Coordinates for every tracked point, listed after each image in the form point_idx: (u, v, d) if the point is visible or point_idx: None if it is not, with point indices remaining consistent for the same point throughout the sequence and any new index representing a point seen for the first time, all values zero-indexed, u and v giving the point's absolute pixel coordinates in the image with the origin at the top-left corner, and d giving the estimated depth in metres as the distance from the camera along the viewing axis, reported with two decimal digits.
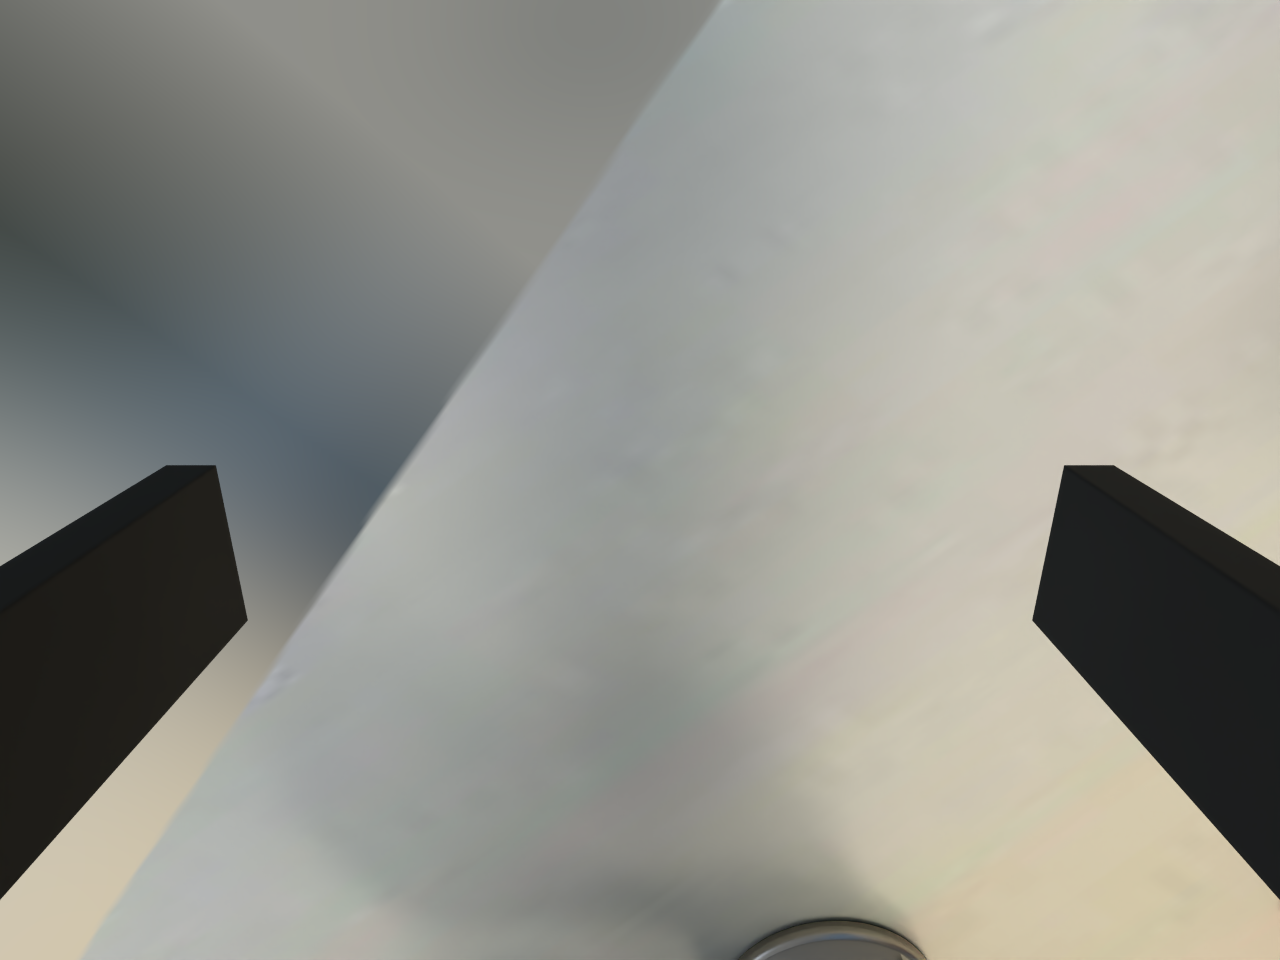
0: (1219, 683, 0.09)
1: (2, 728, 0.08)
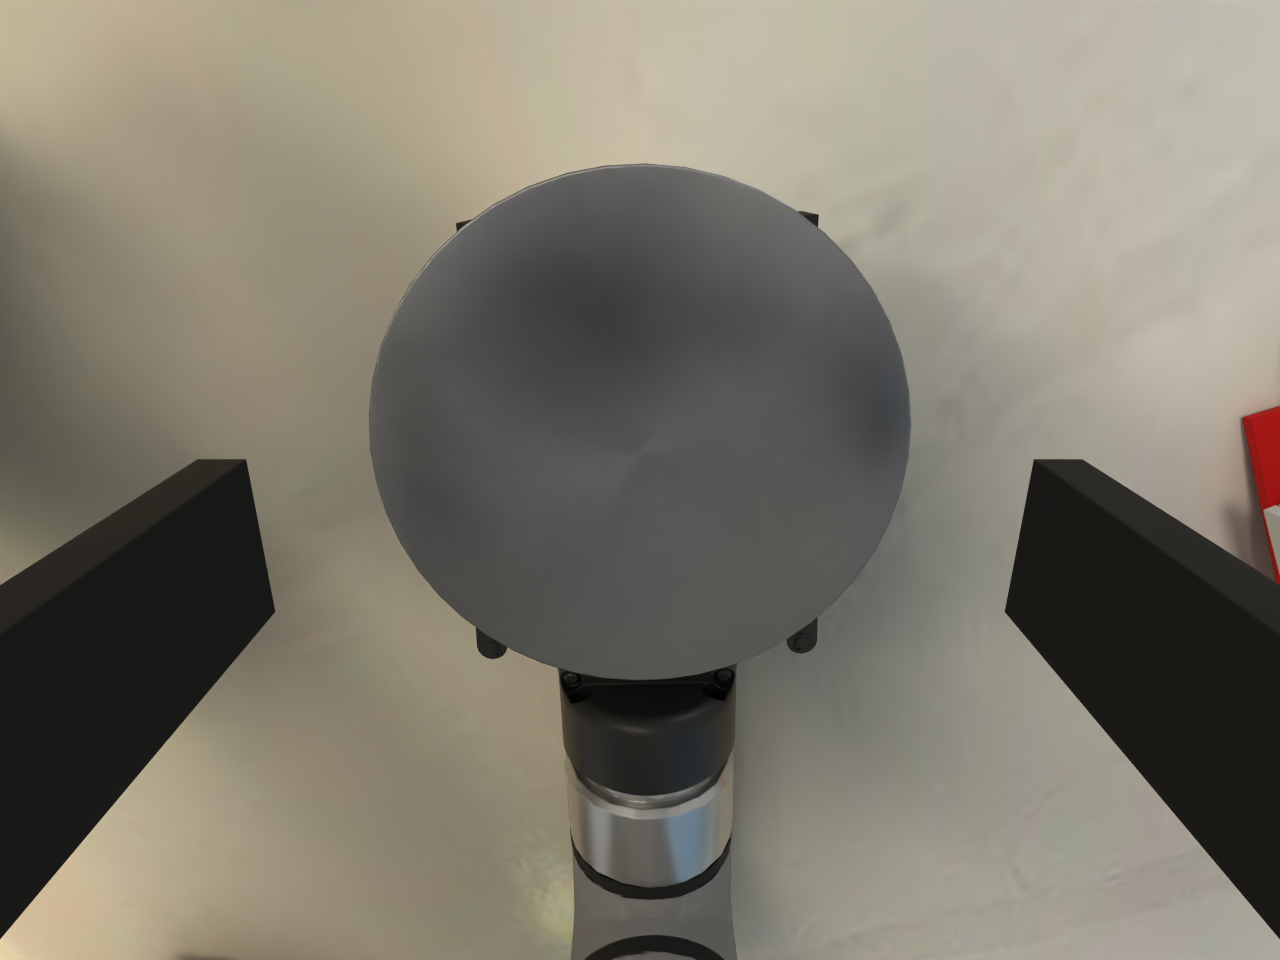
0: (1173, 668, 0.09)
1: (54, 711, 0.08)
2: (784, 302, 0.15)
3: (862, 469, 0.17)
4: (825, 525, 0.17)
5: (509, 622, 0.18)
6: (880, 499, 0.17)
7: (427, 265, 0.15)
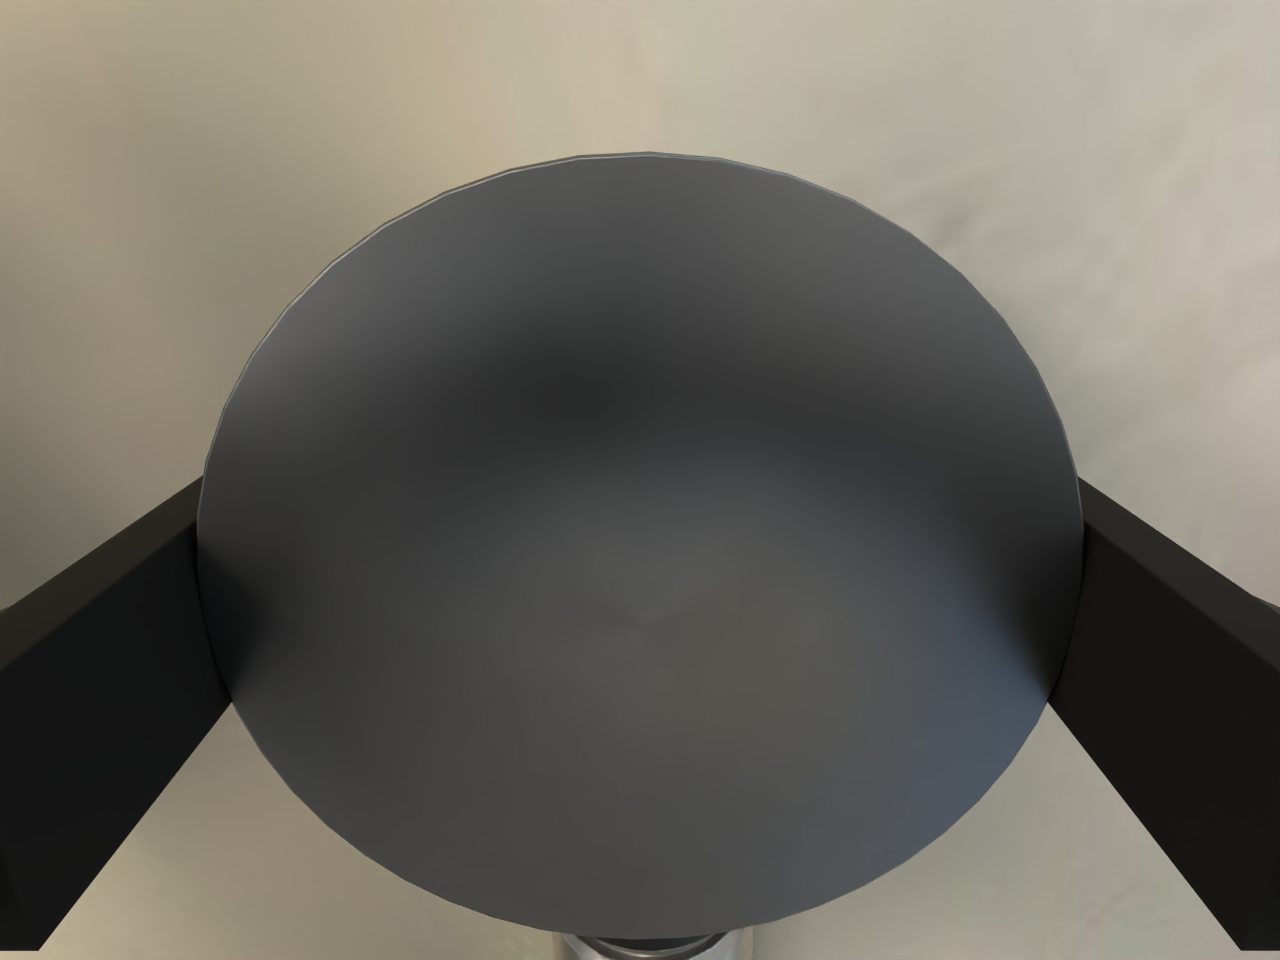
0: (1116, 651, 0.09)
1: (117, 691, 0.08)
2: (886, 389, 0.09)
3: (999, 647, 0.10)
4: (934, 729, 0.11)
5: (438, 863, 0.12)
6: (1024, 691, 0.11)
7: (274, 328, 0.09)
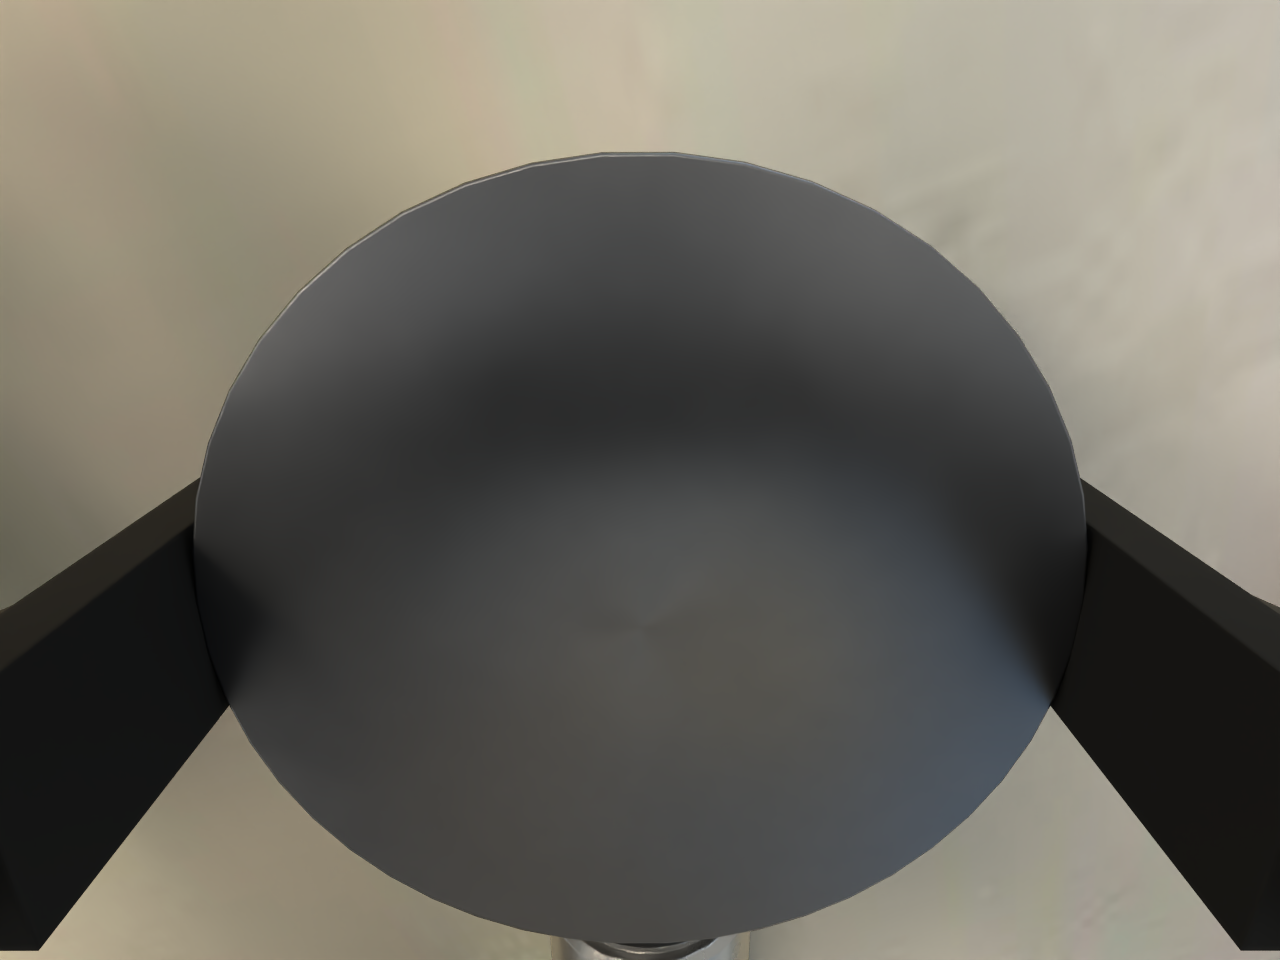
0: (1116, 651, 0.09)
1: (117, 691, 0.08)
2: (309, 552, 0.10)
3: (468, 282, 0.09)
4: (602, 282, 0.09)
5: (1017, 678, 0.10)
6: (500, 213, 0.08)
7: None
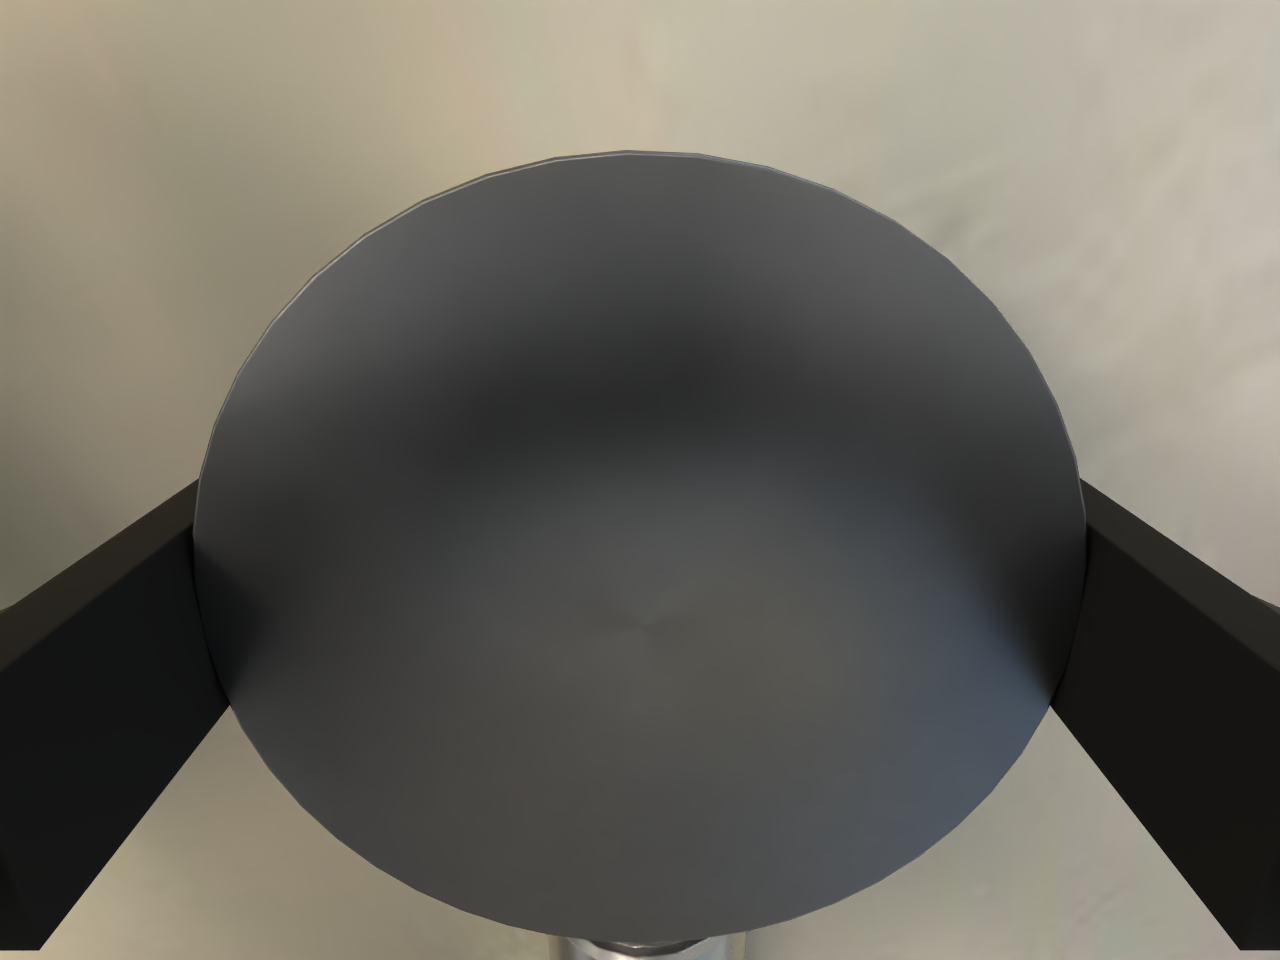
0: (1116, 651, 0.09)
1: (117, 691, 0.08)
2: (702, 868, 0.12)
3: (434, 844, 0.11)
4: (377, 774, 0.11)
5: (488, 239, 0.08)
6: (377, 844, 0.11)
7: (1083, 547, 0.10)
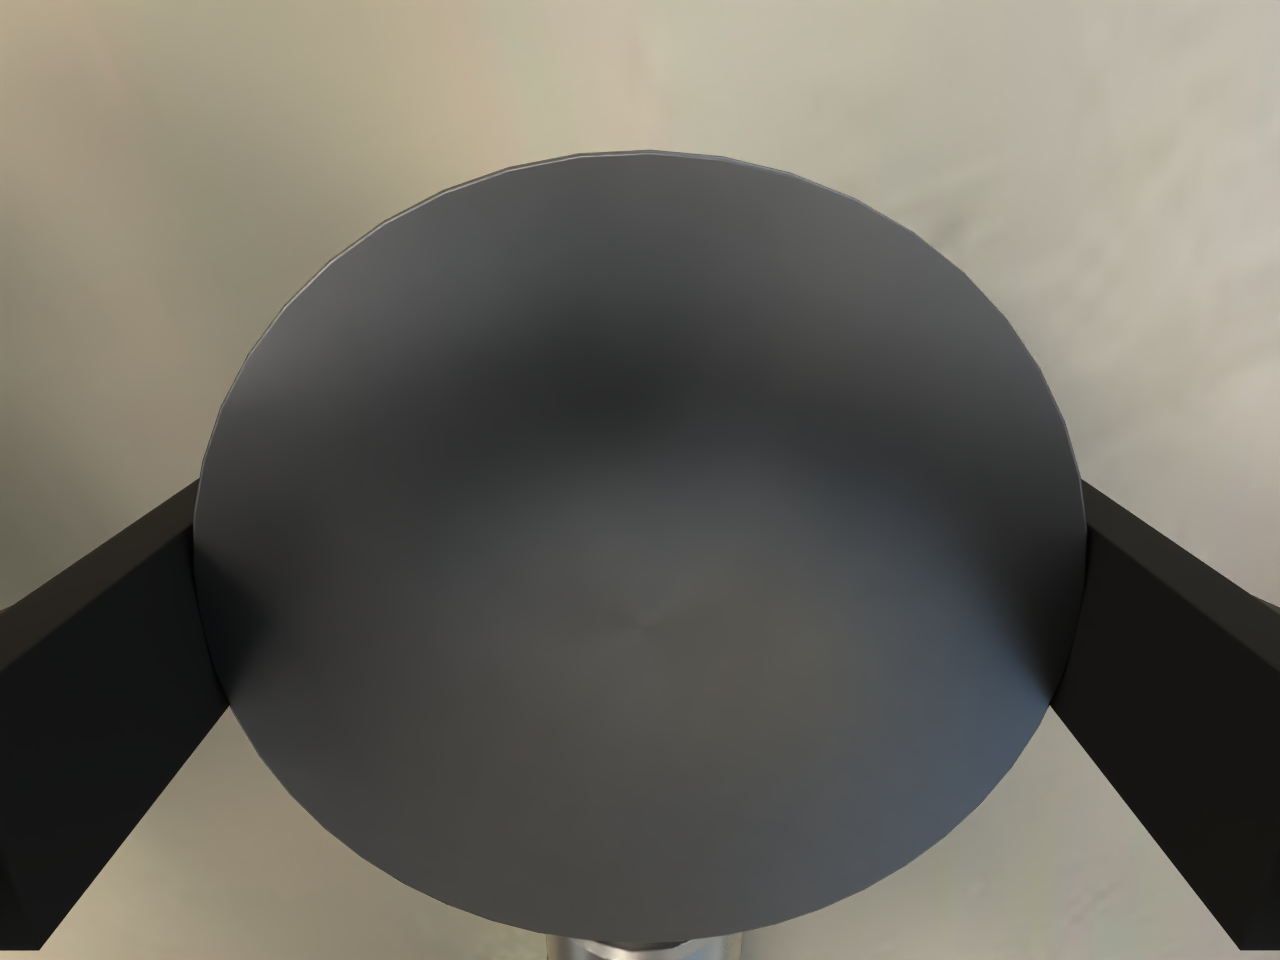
0: (1115, 651, 0.09)
1: (117, 691, 0.08)
2: (918, 423, 0.09)
3: (987, 689, 0.10)
4: (913, 761, 0.11)
5: (399, 844, 0.11)
6: (1005, 734, 0.11)
7: (313, 281, 0.09)
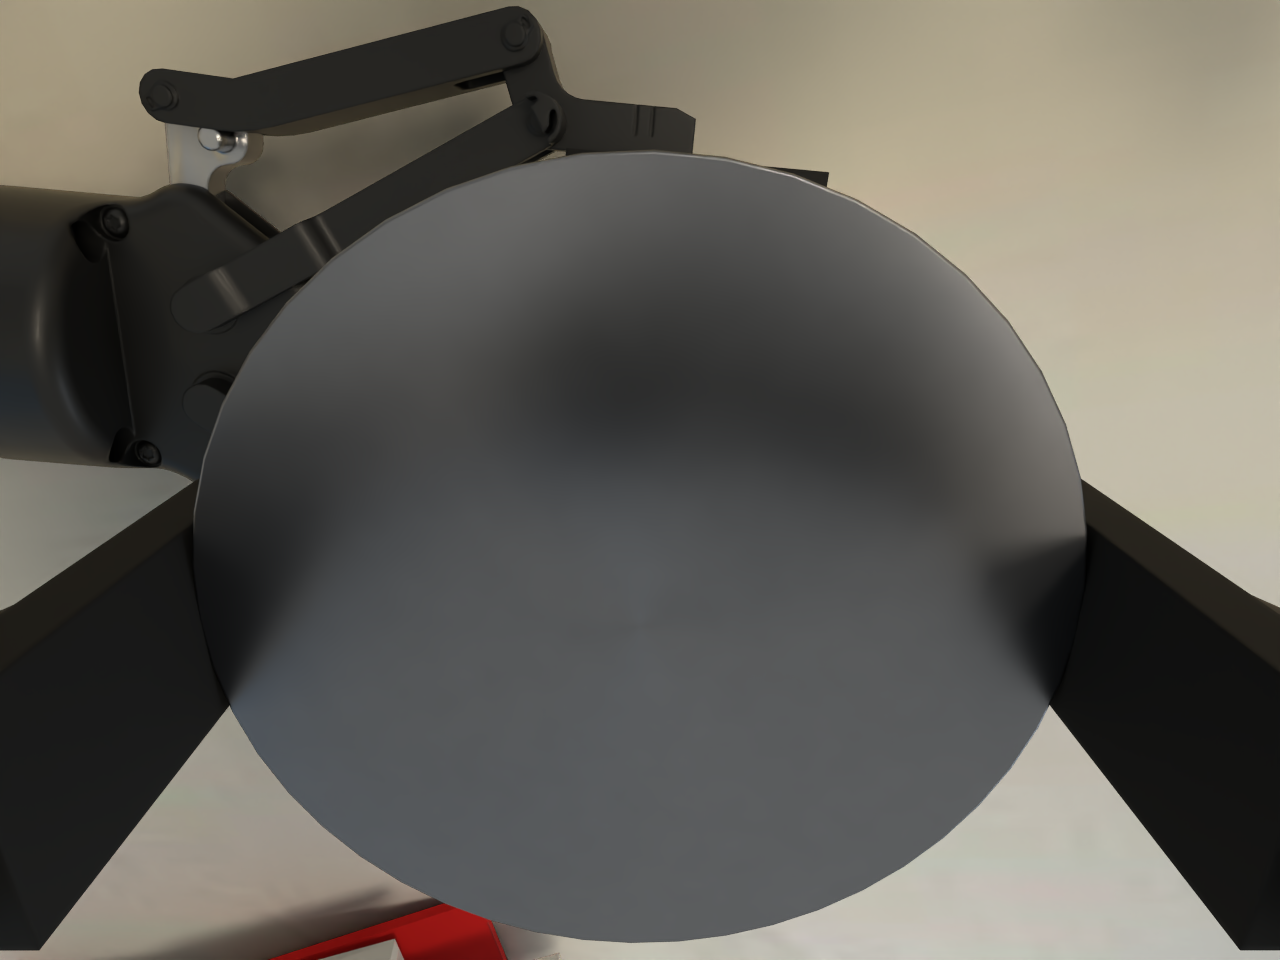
0: (1117, 651, 0.09)
1: (118, 691, 0.08)
2: (919, 425, 0.09)
3: (986, 691, 0.10)
4: (912, 763, 0.11)
5: (397, 842, 0.11)
6: (1004, 736, 0.11)
7: (316, 278, 0.09)
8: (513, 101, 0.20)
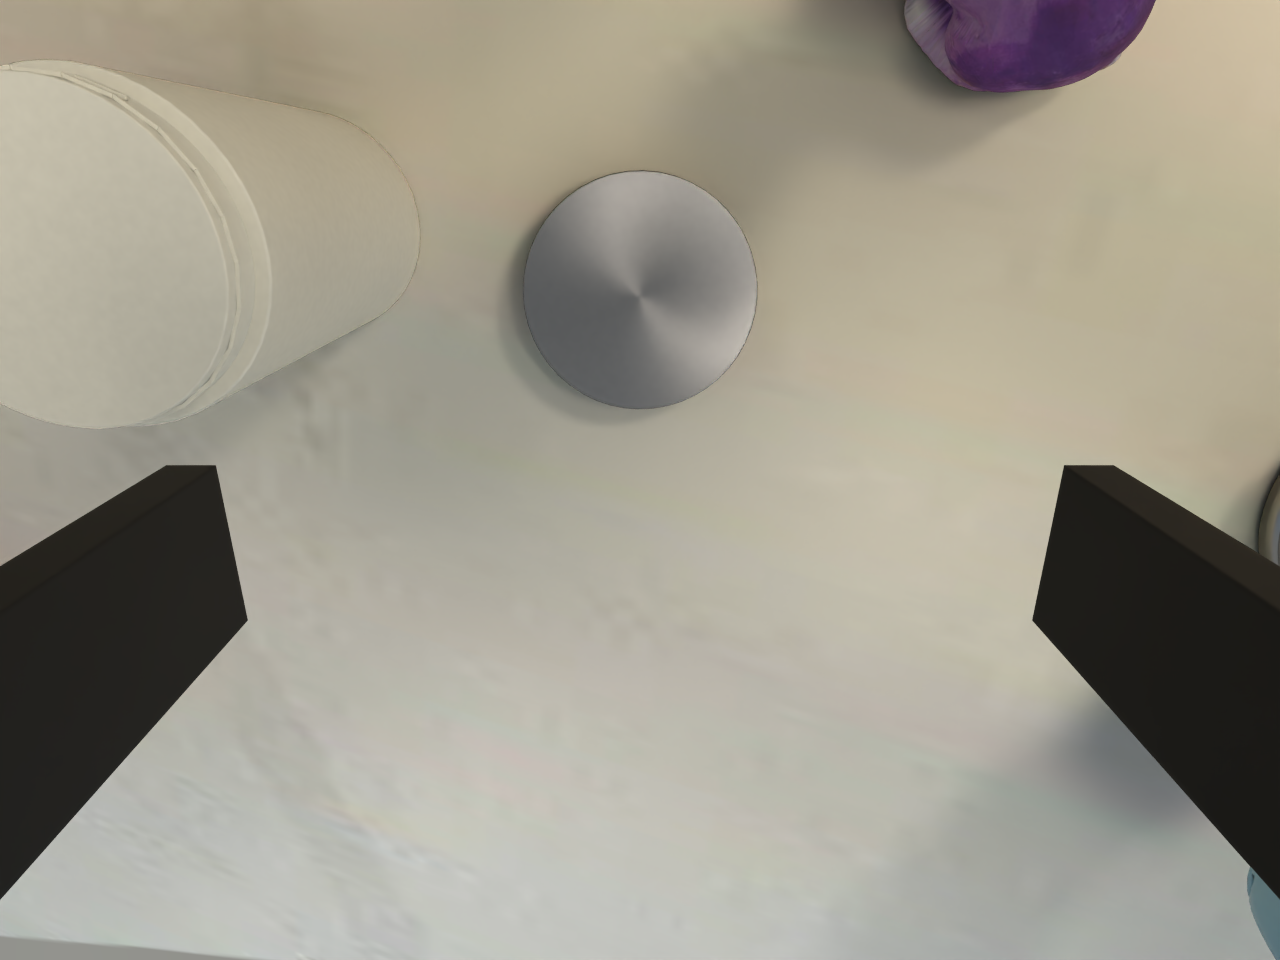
0: (1219, 682, 0.09)
1: (2, 728, 0.08)
2: (708, 237, 0.37)
3: (735, 316, 0.38)
4: (716, 340, 0.39)
5: (570, 370, 0.39)
6: (741, 331, 0.39)
7: (563, 200, 0.36)
8: None
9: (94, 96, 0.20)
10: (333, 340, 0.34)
